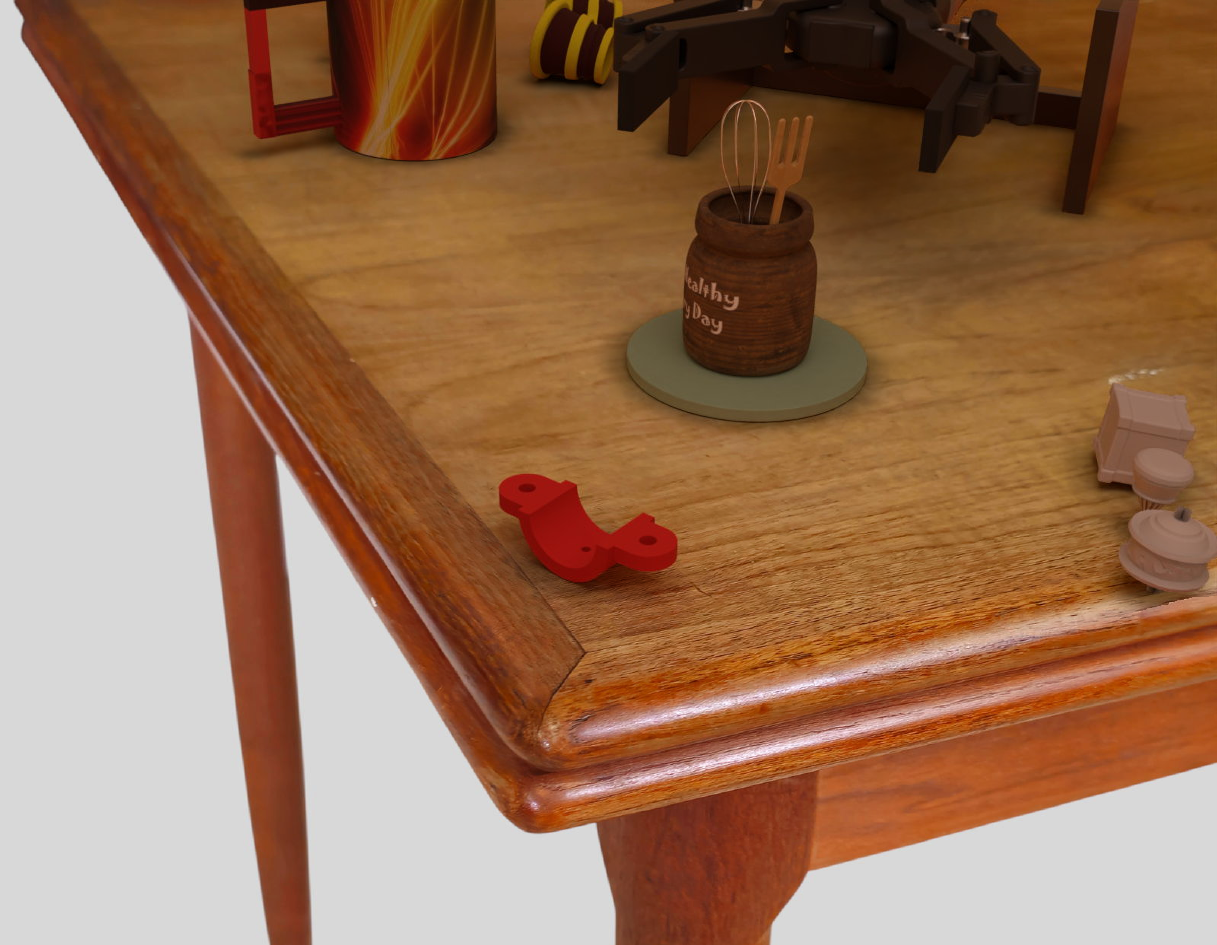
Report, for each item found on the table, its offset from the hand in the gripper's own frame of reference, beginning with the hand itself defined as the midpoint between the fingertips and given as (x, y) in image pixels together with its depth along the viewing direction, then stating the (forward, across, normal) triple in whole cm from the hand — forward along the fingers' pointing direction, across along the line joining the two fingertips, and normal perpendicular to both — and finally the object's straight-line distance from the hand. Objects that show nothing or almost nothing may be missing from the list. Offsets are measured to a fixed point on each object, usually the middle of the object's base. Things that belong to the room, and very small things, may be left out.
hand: (774, 121), depth 78 cm
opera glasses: (-36, +22, -11) cm, 44 cm away
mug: (-19, +28, -11) cm, 35 cm away
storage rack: (-30, 0, -11) cm, 32 cm away
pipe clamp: (+20, +1, -9) cm, 22 cm away
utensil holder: (+2, 0, -10) cm, 11 cm away
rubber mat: (+2, 0, -11) cm, 11 cm away
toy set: (+10, -19, -7) cm, 22 cm away
